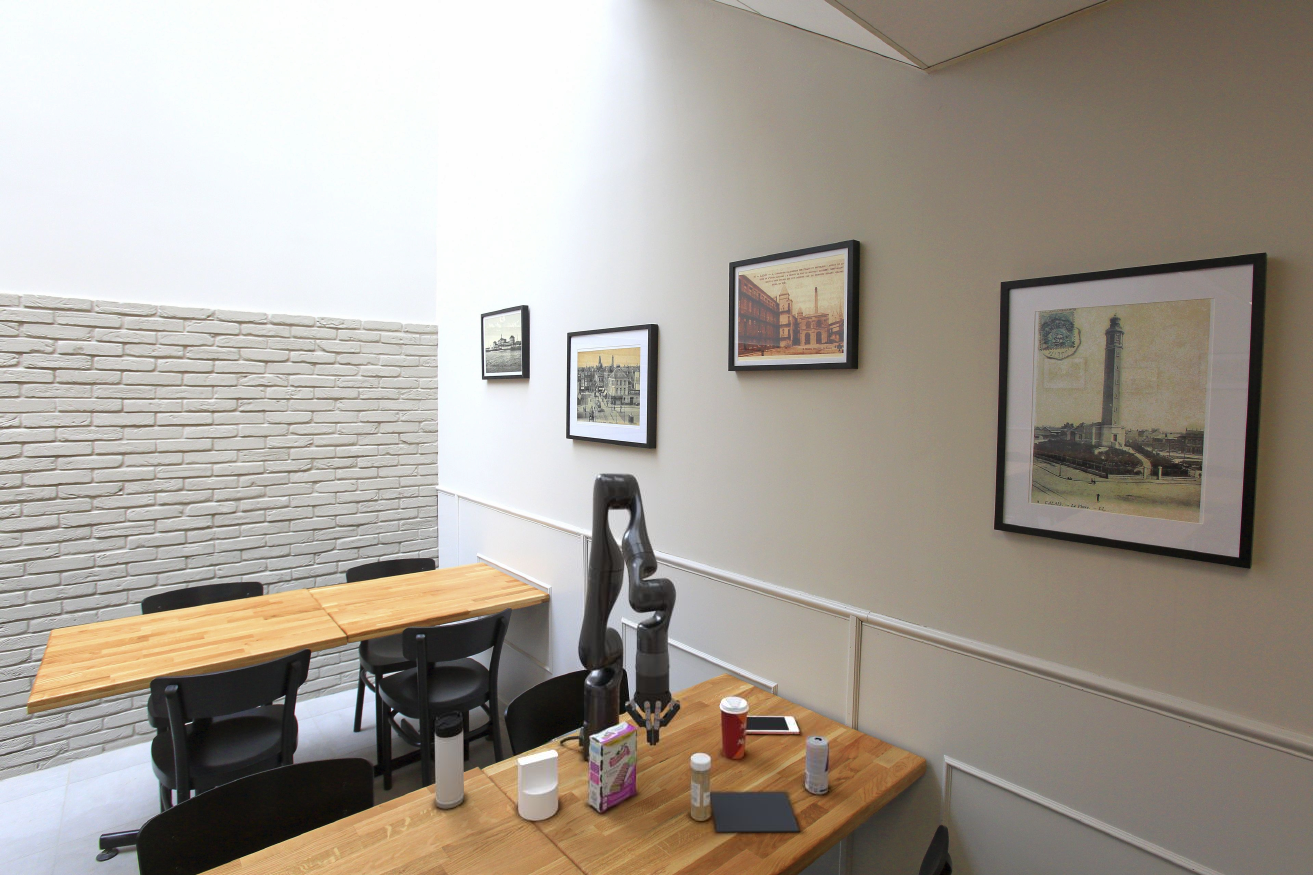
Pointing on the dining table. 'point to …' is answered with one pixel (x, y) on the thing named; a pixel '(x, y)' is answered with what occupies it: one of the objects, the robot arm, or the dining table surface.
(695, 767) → the sprinkles bottle
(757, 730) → the cell phone
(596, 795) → the candy bar box
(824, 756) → the energy drink
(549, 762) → the base with upright slab
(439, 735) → the travel mug
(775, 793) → the rubber mat
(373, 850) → the dining table surface
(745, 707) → the paper cup
